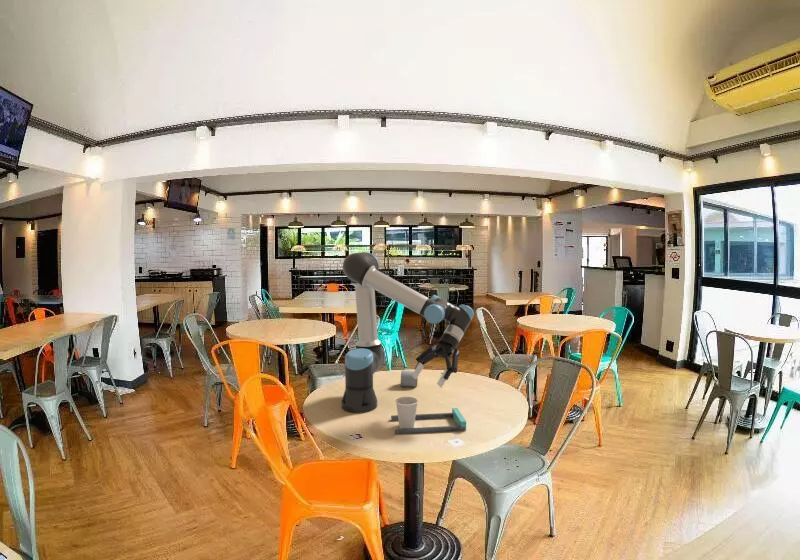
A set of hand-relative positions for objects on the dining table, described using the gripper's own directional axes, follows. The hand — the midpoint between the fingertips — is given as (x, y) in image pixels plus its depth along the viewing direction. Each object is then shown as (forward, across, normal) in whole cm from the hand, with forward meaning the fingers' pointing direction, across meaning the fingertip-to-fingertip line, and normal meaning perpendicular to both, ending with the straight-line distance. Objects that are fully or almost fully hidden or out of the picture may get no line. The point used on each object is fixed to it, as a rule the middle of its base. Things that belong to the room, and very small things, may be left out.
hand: (426, 381), depth 172 cm
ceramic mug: (-6, +33, -27) cm, 43 cm away
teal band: (+7, -12, -14) cm, 20 cm away
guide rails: (+14, -4, -7) cm, 16 cm away
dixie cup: (+18, 0, -3) cm, 18 cm away
